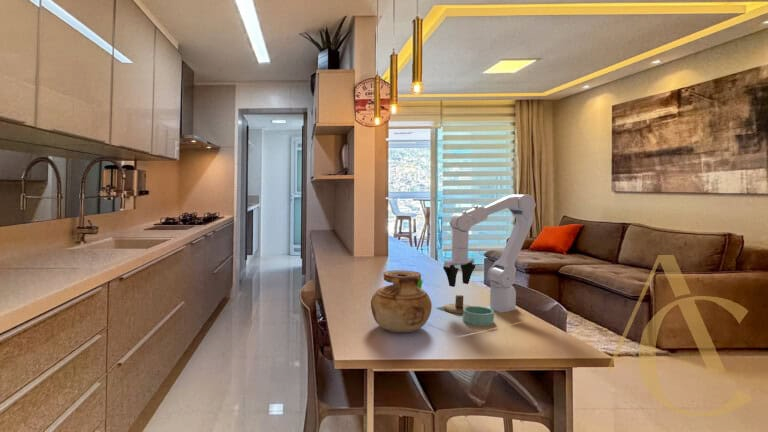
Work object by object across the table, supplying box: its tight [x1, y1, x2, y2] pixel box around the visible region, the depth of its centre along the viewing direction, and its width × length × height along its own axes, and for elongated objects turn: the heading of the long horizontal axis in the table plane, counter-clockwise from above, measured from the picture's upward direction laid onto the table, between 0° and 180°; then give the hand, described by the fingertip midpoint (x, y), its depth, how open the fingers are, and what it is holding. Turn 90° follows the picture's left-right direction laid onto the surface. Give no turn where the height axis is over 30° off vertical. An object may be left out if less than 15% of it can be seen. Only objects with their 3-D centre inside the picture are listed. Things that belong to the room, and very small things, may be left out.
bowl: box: [461, 305, 495, 327], centre depth 138 cm, size 10×10×4 cm
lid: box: [443, 294, 470, 314], centre depth 151 cm, size 11×11×5 cm
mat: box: [436, 306, 463, 317], centre depth 152 cm, size 12×12×1 cm
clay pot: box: [370, 270, 433, 334], centre depth 129 cm, size 19×19×20 cm
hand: (458, 284), depth 150 cm, fingers open, 7 cm apart
